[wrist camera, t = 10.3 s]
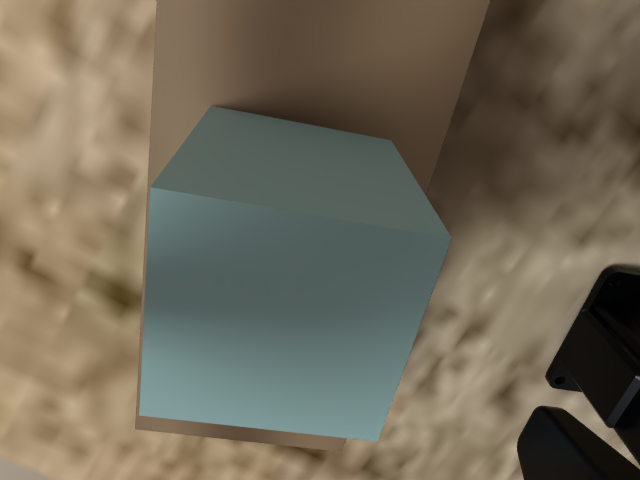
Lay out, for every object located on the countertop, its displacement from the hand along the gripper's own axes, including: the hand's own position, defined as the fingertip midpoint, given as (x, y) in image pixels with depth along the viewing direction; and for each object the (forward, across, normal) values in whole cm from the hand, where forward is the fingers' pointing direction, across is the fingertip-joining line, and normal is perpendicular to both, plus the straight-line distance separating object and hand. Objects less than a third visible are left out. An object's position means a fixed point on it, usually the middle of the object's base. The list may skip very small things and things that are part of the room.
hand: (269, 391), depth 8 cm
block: (+8, 0, 0) cm, 8 cm away
